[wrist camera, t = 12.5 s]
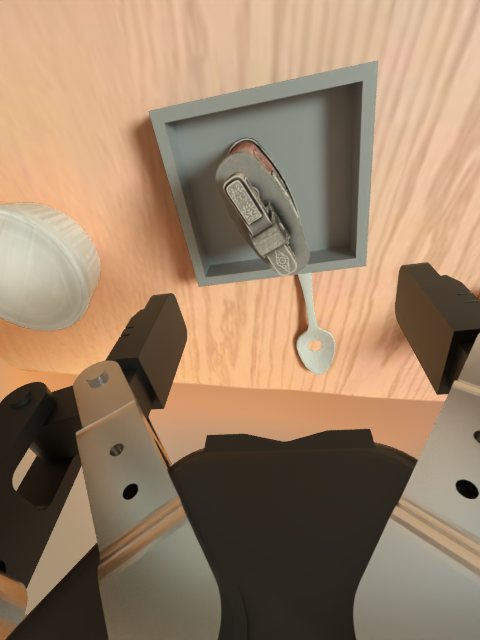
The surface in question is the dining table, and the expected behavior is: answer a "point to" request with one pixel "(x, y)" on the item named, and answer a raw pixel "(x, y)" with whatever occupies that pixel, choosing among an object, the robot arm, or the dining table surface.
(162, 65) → the dining table surface
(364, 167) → the tray
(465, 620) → the robot arm
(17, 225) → the ramekin
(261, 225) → the lighter
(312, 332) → the spoon
